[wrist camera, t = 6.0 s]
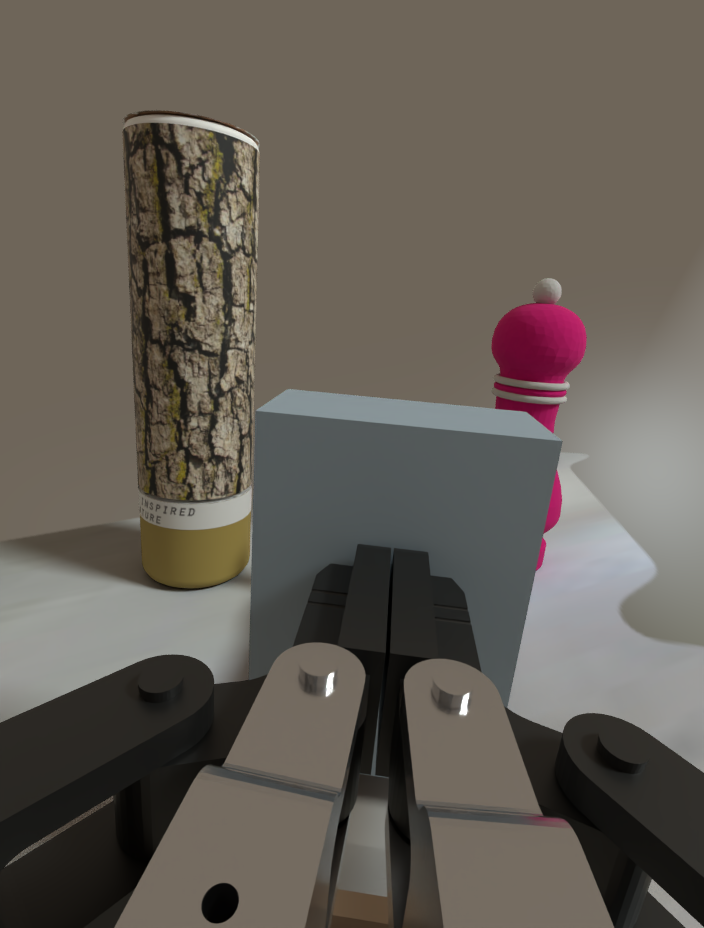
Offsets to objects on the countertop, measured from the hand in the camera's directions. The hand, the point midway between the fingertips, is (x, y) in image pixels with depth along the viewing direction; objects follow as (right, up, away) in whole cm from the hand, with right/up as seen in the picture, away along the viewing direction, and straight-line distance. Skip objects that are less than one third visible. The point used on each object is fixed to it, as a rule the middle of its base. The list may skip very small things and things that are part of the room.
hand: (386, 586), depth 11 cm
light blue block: (-1, -10, +5) cm, 12 cm away
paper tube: (-11, -4, +23) cm, 26 cm away
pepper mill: (+11, -5, +28) cm, 30 cm away
